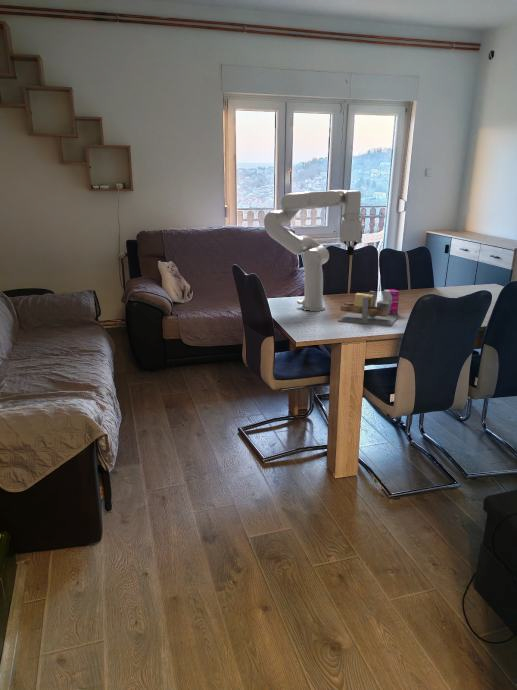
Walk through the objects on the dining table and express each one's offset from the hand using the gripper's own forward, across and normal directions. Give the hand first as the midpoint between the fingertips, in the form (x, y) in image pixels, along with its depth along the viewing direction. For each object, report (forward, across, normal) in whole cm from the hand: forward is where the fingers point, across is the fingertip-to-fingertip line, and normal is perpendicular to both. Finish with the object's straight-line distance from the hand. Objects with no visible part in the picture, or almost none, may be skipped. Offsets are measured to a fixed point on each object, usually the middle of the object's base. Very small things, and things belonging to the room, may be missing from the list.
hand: (350, 254), depth 254 cm
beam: (+25, +12, -11) cm, 30 cm away
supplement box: (+29, +20, +8) cm, 36 cm away
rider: (+24, +11, -11) cm, 29 cm away
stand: (+29, +14, -11) cm, 34 cm away
